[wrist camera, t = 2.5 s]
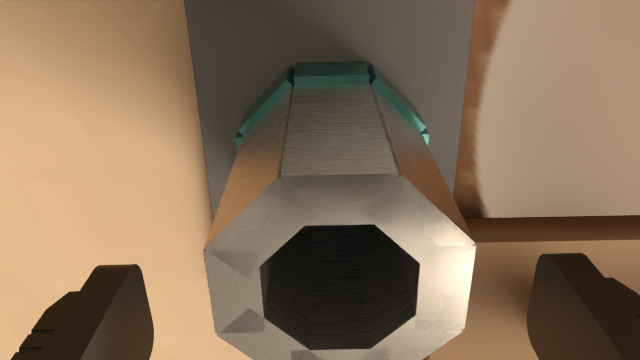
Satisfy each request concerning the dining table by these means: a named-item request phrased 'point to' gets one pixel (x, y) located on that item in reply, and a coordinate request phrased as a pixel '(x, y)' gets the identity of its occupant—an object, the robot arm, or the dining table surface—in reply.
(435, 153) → the feeder mat
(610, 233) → the pin board
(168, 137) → the dining table surface
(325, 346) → the sleeve
